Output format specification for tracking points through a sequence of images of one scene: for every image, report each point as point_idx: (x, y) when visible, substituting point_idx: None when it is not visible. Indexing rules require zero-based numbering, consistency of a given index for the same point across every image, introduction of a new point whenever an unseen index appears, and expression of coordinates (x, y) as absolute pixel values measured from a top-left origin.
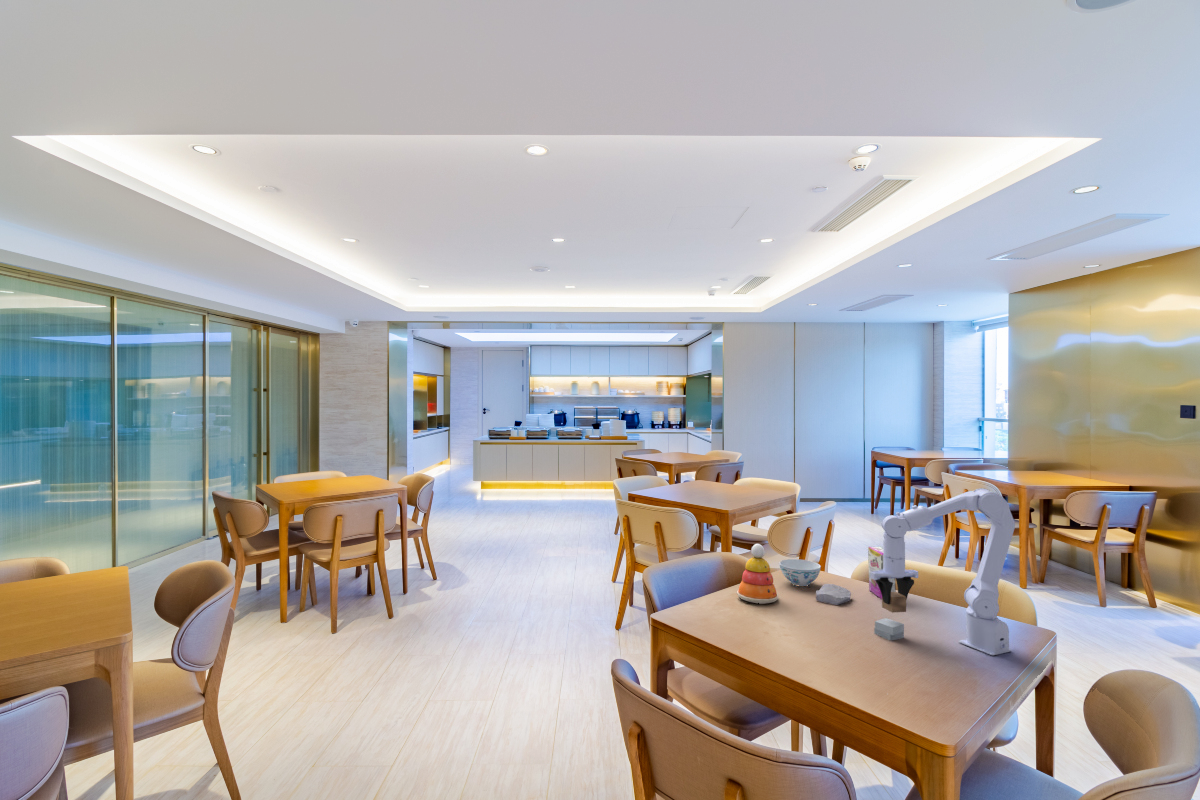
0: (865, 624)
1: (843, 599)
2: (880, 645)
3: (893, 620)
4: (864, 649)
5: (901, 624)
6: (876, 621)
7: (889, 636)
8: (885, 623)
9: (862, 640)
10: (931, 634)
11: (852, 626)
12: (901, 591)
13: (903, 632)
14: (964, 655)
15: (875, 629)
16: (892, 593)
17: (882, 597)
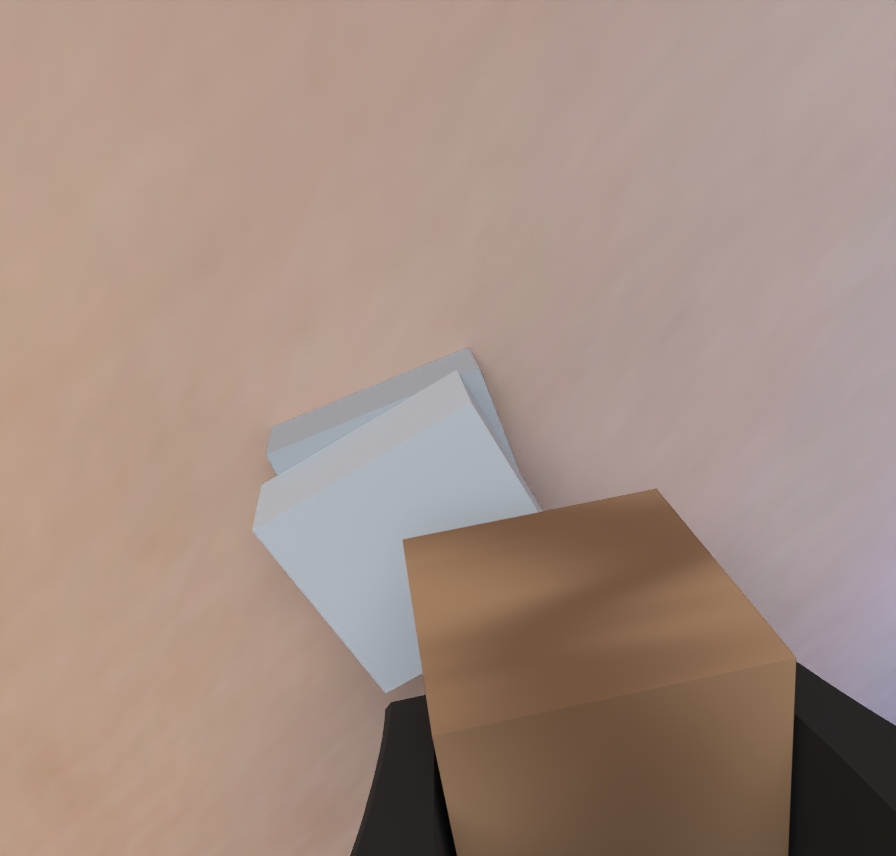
0: (282, 132)
1: None
2: (209, 693)
3: (520, 486)
4: (19, 779)
5: None
6: (271, 531)
7: None
8: (359, 588)
9: (65, 603)
10: (865, 424)
11: (71, 208)
12: (835, 848)
13: None
14: None
15: (274, 463)
16: (631, 786)
17: (379, 759)
